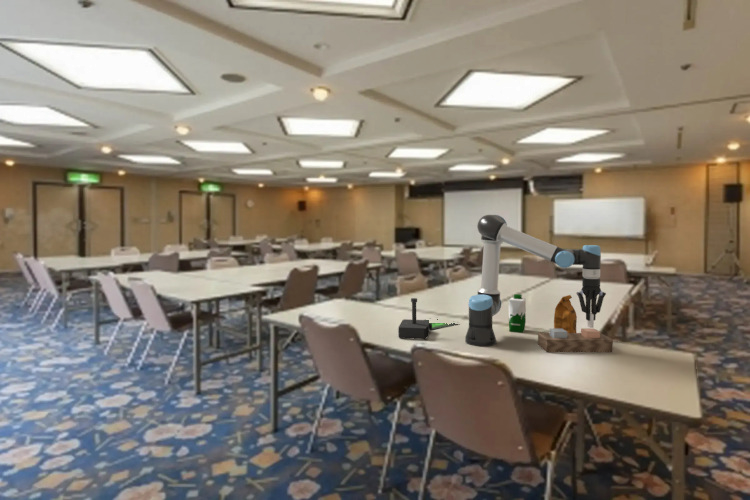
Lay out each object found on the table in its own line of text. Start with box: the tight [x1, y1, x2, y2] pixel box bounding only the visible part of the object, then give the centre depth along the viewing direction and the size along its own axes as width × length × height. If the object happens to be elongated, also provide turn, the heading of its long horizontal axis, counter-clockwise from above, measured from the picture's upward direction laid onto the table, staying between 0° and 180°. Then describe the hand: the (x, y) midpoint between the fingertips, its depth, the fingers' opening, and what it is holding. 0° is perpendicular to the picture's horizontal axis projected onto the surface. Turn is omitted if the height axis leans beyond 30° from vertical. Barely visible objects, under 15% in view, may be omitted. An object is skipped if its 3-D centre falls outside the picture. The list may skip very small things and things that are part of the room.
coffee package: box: [553, 294, 578, 333], centre depth 219 cm, size 10×12×22 cm
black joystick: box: [397, 297, 433, 340], centre depth 229 cm, size 19×17×20 cm
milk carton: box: [508, 293, 527, 334], centre depth 234 cm, size 9×9×20 cm
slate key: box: [548, 327, 567, 338], centre depth 200 cm, size 6×6×5 cm
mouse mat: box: [431, 319, 458, 331], centre depth 254 cm, size 27×22×1 cm
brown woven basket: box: [537, 332, 614, 353], centre depth 200 cm, size 30×12×6 cm, turn 87°
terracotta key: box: [580, 327, 601, 338], centre depth 199 cm, size 6×6×5 cm
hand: (590, 327), depth 199 cm, fingers closed
